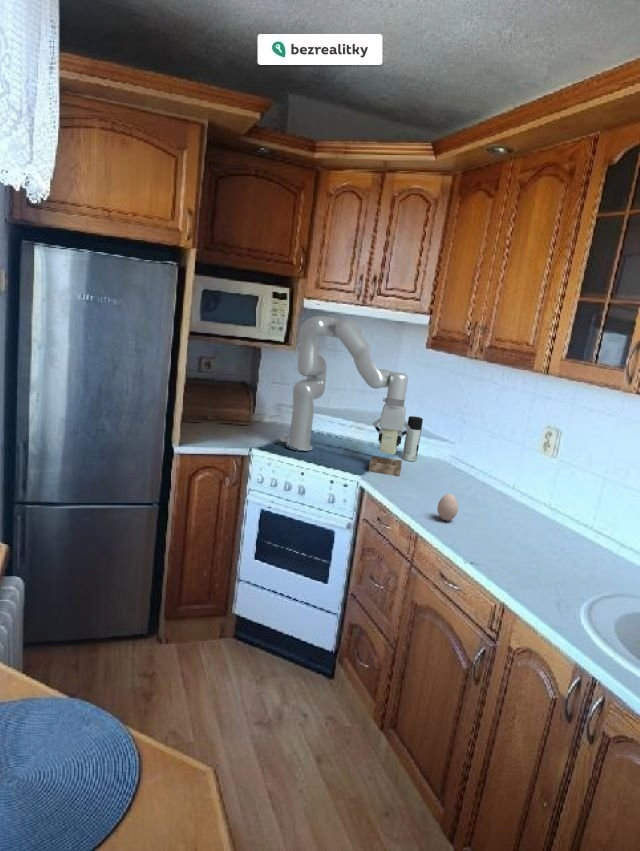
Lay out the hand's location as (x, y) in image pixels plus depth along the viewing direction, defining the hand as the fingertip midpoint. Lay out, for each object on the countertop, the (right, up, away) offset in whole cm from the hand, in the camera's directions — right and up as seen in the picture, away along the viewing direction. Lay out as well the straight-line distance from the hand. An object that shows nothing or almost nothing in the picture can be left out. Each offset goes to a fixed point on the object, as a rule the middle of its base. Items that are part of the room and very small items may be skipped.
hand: (389, 443), depth 240 cm
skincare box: (0, -4, +1) cm, 4 cm away
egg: (+13, -24, -49) cm, 56 cm away
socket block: (-2, -11, +2) cm, 11 cm away
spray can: (+12, -8, +24) cm, 28 cm away
